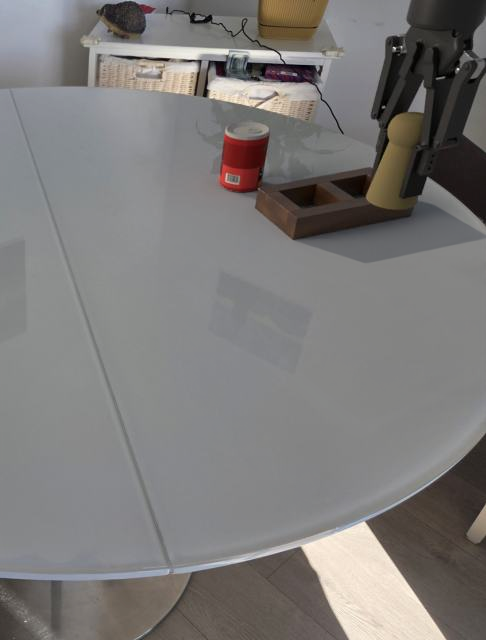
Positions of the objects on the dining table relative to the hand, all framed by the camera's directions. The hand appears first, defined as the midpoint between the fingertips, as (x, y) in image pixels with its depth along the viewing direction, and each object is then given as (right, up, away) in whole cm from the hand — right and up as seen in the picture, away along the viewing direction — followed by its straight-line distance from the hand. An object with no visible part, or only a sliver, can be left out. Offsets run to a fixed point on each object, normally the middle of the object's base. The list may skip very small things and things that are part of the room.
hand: (394, 186), depth 83 cm
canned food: (-6, +11, +42) cm, 44 cm away
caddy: (+6, +3, +31) cm, 32 cm away
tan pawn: (0, -1, +1) cm, 2 cm away
